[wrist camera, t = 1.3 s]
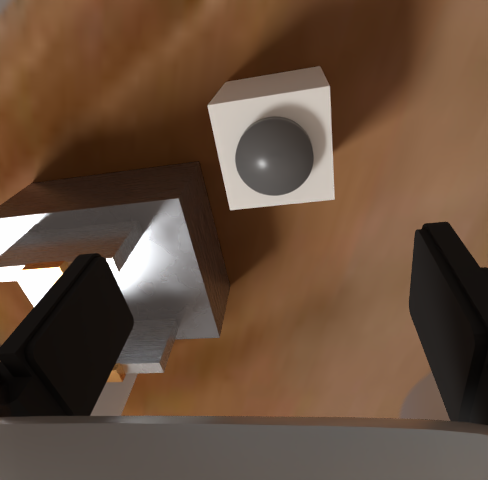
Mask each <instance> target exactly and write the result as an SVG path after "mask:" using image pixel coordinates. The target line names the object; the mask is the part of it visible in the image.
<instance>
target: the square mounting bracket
mask: <svg viewBox="0 0 488 480" xmlns="http://www.w3.org/2000/svg"><path fill="white" fill-rule="evenodd" d="M91 253H98V254H100V255H101V256H102V257H104V258H106V260H107V262H108V264H109V266H110V268H111V270H112V272H113V275H114V277H115V279H116V281H117V283H118V285H119V287H120V290H121V292H122V294H123V296H124V298H125V300H126V303H127V305H128V307H129V309H130V311H131V313H132V315H133V318H134V326H133V329H132V331H131V333H130V335H129V337H128V339H127V341H126V343H125V345H124V347H123V349H122V351H121V353H120V355H119V357H118V360H117V362H116V364H115V366H114V368H113V370H112V372H111V374H110V376H109V378H108V380H107V382H123V380H124V378H125V376H126V373H164V370H165V367H166V364H167V361H168V358H169V355H170V352H171V349H172V346H173V343H174V341H175V339H195V338H220V334H221V329H222V324H223V319H224V314H225V309H226V304H227V299H228V295H229V290H230V284H229V280H228V276H227V272H226V268H225V264H224V260H223V256H222V252H221V248H220V244H219V240H218V235H217V231H216V227H215V223H214V219H213V215H212V211H211V207H210V203H209V199H208V195H207V191H206V187H205V183H204V179H203V175H202V171H201V167H200V163H199V161H198V162H190V163H182V164H175V165H167V166H159V167H152V168H144V169H136V170H129V171H121V172H113V173H106V174H98V175H90V176H83V177H75V178H67V179H60V180H52V181H44V182H37V183H31V184H30V185H28V186H27V187H26V188H24V189H23V190H21V191H20V192H18V193H17V194H16V195H14V196H13V197H11V198H10V199H9V200H7V201H6V202H4V203H3V204H2V205H0V282H5V281H18V283H19V284H20V286H21V288H22V289H23V291H24V292H25V294H26V295H27V297H28V298H29V300H30V301H31V303H32V305H33V306H34V307H35V306H36V304H37V303H38V302H39V301H40V300H41V299H42V297H43V296H44V295H45V294H46V293H47V291H48V290H49V289H50V288H51V287H52V286H53V284H54V283H55V282H56V281H57V280H58V278H59V277H60V276H61V275H62V274H63V273H64V271H65V270H66V269H67V268H68V267H69V265H70V264H71V263H72V262H73V261H74V259H75V258H76V257H77V256H78V255H81V254H91Z"/></svg>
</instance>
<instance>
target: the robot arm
mask: <svg viewBox="0 0 488 480" xmlns="http://www.w3.org/2000/svg"><path fill="white" fill-rule="evenodd" d="M409 310H410V314H411V317H412V320H413V323H414V325H415V328H416V331H417V333H418V336H419V339H420V341H421V344H422V347H423V349H424V352H425V354H426V357H427V360H428V362H429V365H430V368H431V370H432V373H433V376H434V378H435V381H436V384H437V386H438V389H439V391H440V394H441V397H442V399H443V402H444V405H445V407H446V410H447V413H448V415H449V418H450V420H451V421H442V420H427V419H393V418H355V417H260V416H90V415H91V413H92V411H93V409H94V407H95V405H96V402H97V400H98V398H99V396H100V394H101V392H102V390H103V388H104V386H105V384H106V382H107V380H108V378H109V376H110V374H111V372H112V370H113V368H114V366H115V364H116V362H117V360H118V357H119V355H120V353H121V351H122V349H123V347H124V345H125V343H126V341H127V339H128V337H129V335H130V333H131V331H132V329H133V326H134V318H133V315H132V313H131V311H130V309H129V307H128V305H127V303H126V300H125V298H124V296H123V294H122V292H121V290H120V287H119V285H118V283H117V281H116V279H115V277H114V275H113V272H112V270H111V268H110V266H109V264H108V262H107V260H106V258H104V257H102V256H101V255H100V254H98V253H91V254H81V255H78V256H77V257H76V258H75V259H74V261H73V262H72V263H71V264H70V265H69V267H68V268H67V269H66V270H65V271H64V273H63V274H62V275H61V276H60V277H59V278H58V280H57V281H56V282H55V283H54V284H53V286H52V287H51V288H50V289H49V290H48V291H47V293H46V294H45V295H44V296H43V297H42V299H41V300H40V301H39V302H38V303H37V304H36V306H35V307H34V308H33V309H32V310H31V312H30V313H29V314H28V315H27V316H26V317H25V319H24V320H23V321H22V322H21V323H20V325H19V326H18V327H17V328H16V329H15V331H14V332H13V333H12V334H11V335H10V336H9V338H8V339H7V340H6V341H5V342H4V344H3V345H2V346H1V347H0V361H1V362H0V480H488V268H486V267H484V268H480V267H479V265H478V264H477V262H476V261H475V259H474V258H473V257H472V255H471V254H470V252H469V251H468V250H467V248H466V247H465V245H464V244H463V242H462V241H461V240H460V238H459V237H458V235H457V234H456V233H455V231H454V230H453V228H452V227H451V225H450V224H449V223H448V222H438V223H427V224H424V225H423V227H422V229H419V230H416V231H415V238H414V250H413V261H412V273H411V285H410V296H409Z"/></svg>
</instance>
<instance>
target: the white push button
mask: <svg viewBox="0 0 488 480" xmlns="http://www.w3.org/2000/svg"><path fill="white" fill-rule="evenodd" d="M207 106H208V111H209V115H210V120H211V125H212V129H213V134H214V138H215V143H216V148H217V152H218V157H219V162H220V166H221V171H222V175H223V180H224V185H225V189H226V194H227V199H228V203H229V208H230V210H237V209H247V208H257V207H266V206H276V205H286V204H295V203H305V202H315V201H324V200H334V199H335V198H334V174H333V150H332V126H331V102H330V85H329V83H328V81H327V79H326V77H325V75H324V73H323V71H322V69H321V67H320V66H317V67H311V68H305V69H299V70H293V71H287V72H282V73H276V74H270V75H264V76H258V77H252V78H246V79H240V80H234V81H228V82H225V83H224V85H223V86H222V87H221V89H220V90H219V91H218V92H217V94H216V95H215V96H214V97H213V99H212V100H211V101H210V103H209V104H208V105H207Z"/></svg>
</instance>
